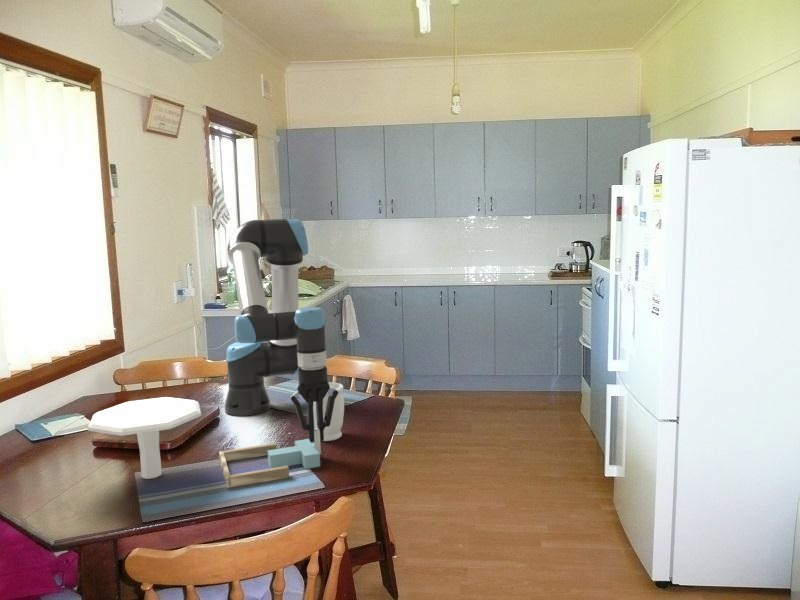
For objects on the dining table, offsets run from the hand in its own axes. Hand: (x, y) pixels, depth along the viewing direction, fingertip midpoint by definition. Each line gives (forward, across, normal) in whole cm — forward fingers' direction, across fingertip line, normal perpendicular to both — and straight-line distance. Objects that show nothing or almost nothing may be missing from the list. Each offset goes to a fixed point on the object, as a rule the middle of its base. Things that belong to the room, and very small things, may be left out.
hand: (317, 452), depth 170 cm
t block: (+1, -7, 0) cm, 7 cm away
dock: (+1, -16, 0) cm, 16 cm away
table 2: (+1, -41, +7) cm, 42 cm away
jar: (+2, +7, +15) cm, 16 cm away
